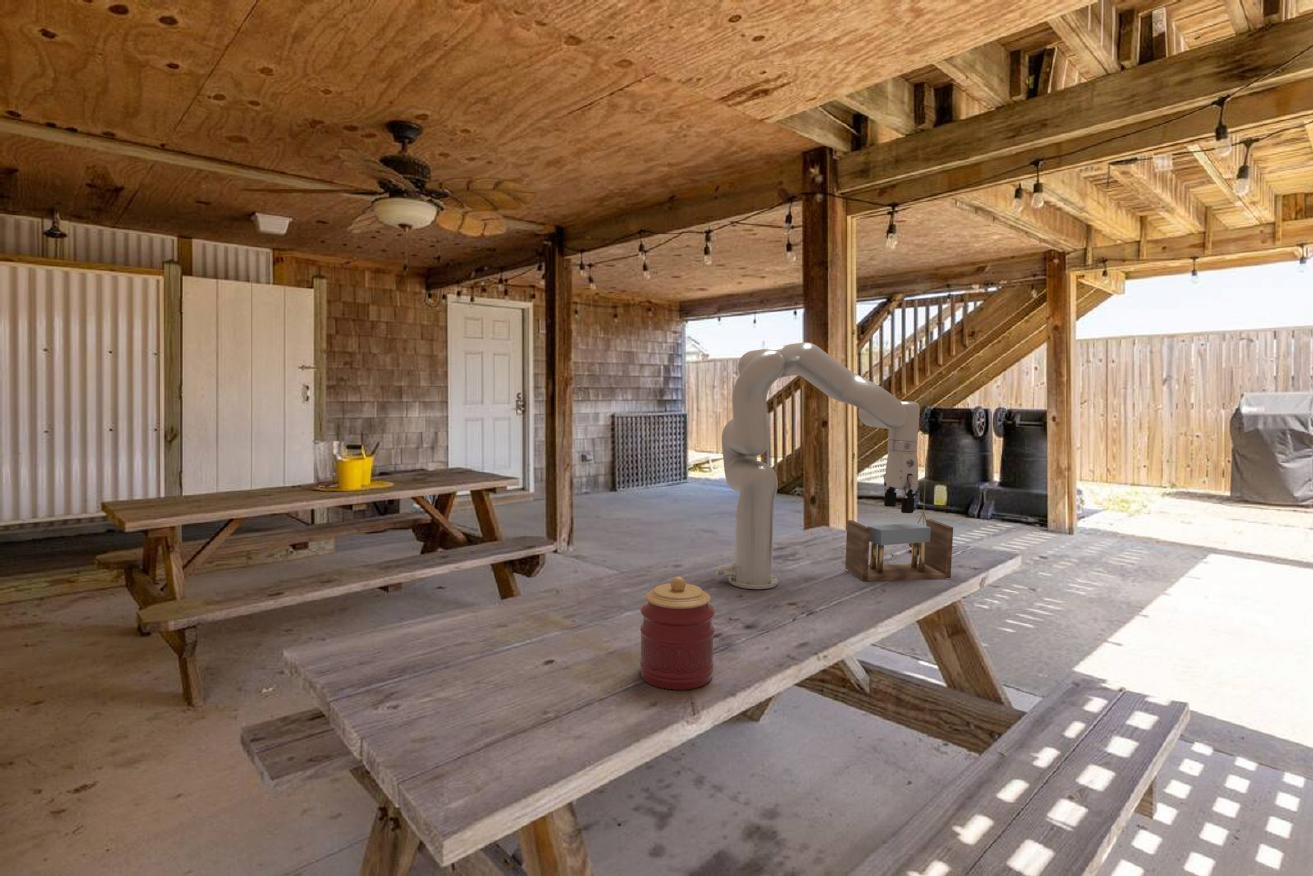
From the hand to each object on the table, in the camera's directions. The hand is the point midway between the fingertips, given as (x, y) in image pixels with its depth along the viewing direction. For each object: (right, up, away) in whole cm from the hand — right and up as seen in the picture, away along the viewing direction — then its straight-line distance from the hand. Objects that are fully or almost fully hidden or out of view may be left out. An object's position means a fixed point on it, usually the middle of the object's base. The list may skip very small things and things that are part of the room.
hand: (898, 509), depth 187 cm
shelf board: (0, -9, +1) cm, 9 cm away
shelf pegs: (0, -17, +1) cm, 17 cm away
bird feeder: (+17, -16, +27) cm, 36 cm away
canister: (-62, -22, -66) cm, 94 cm away
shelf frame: (0, -18, +2) cm, 18 cm away
